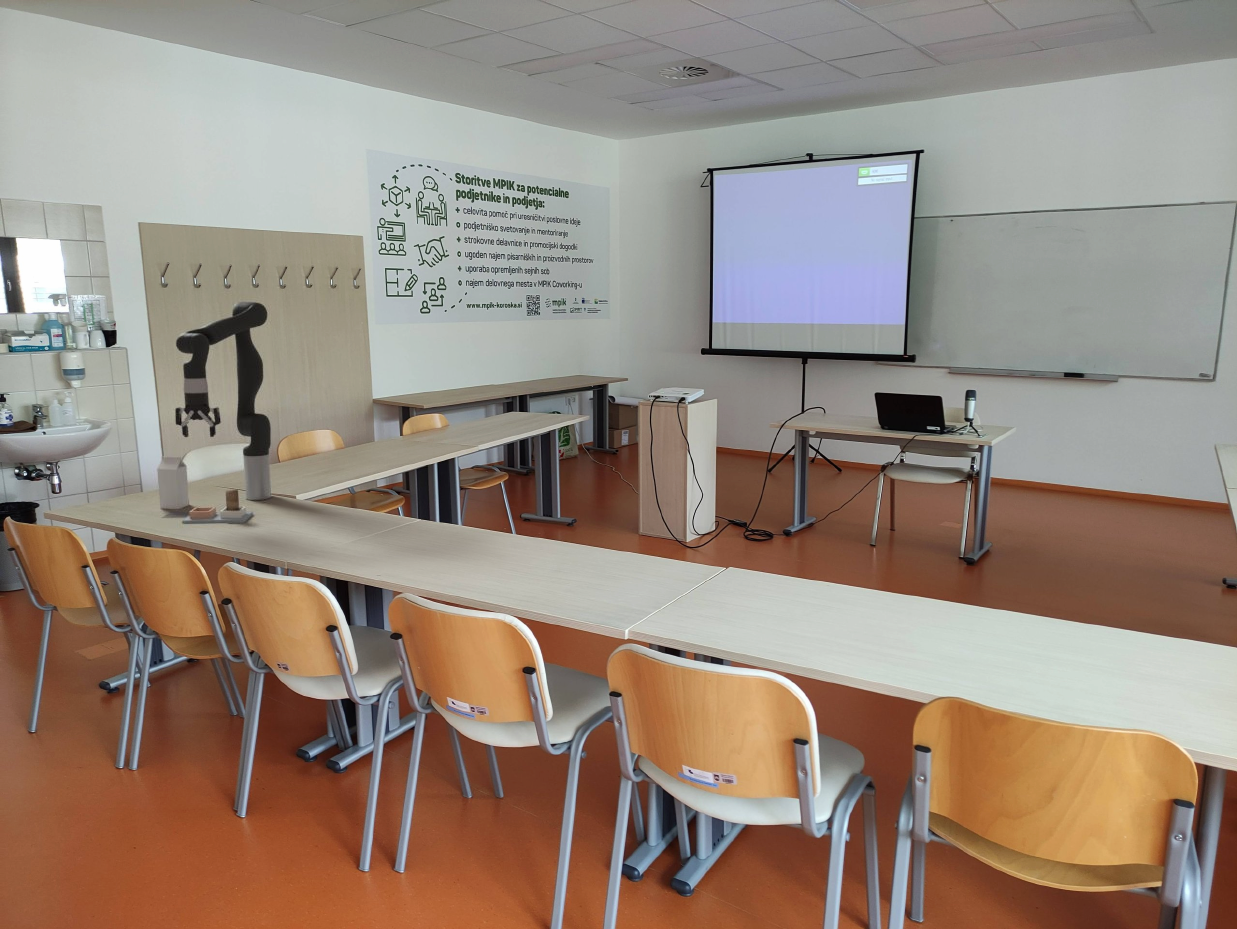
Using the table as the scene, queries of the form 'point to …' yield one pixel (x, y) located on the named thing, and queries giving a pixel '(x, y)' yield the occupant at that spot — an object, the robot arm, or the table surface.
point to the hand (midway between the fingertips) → (199, 436)
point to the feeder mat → (177, 514)
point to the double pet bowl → (217, 515)
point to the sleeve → (232, 500)
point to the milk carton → (172, 483)
